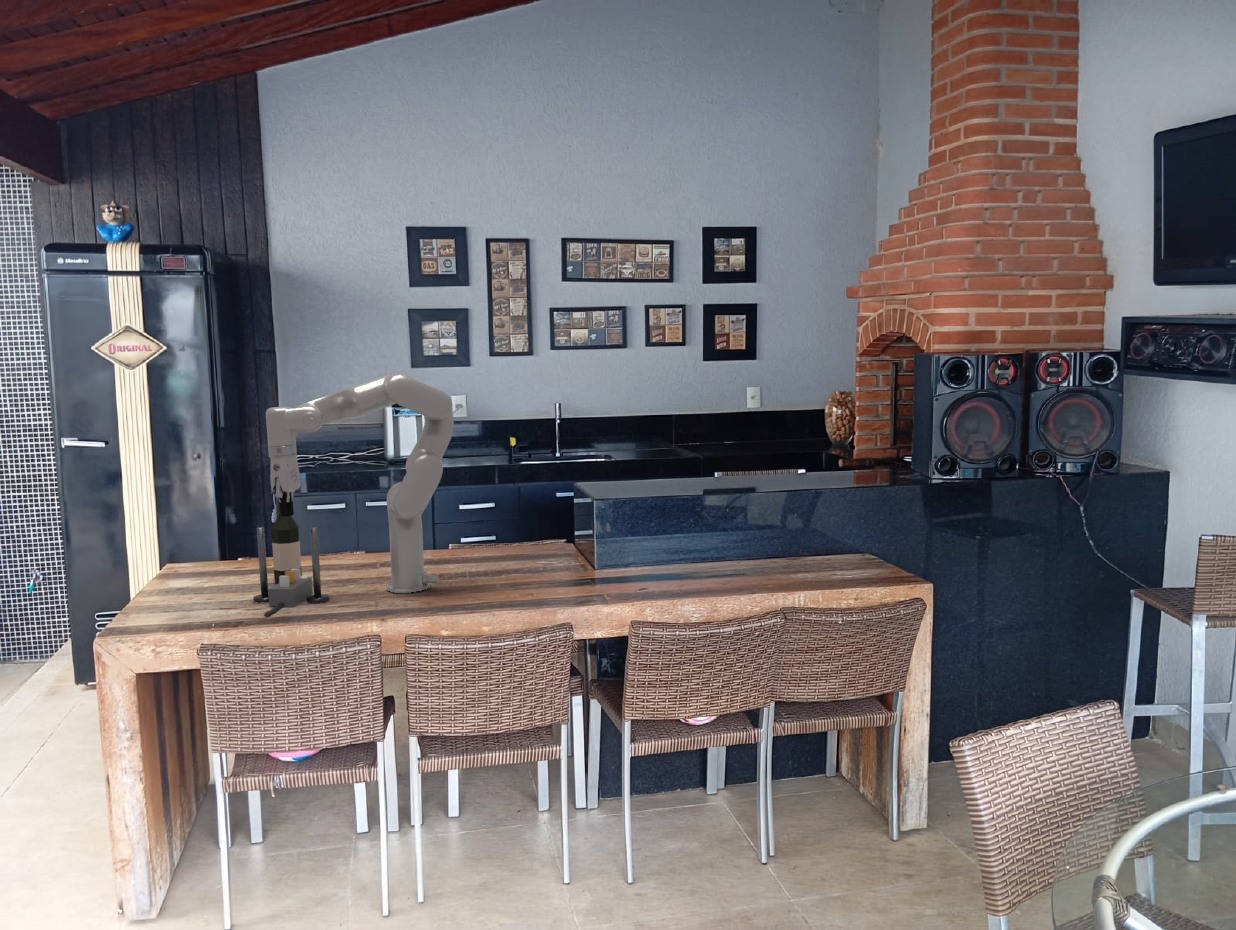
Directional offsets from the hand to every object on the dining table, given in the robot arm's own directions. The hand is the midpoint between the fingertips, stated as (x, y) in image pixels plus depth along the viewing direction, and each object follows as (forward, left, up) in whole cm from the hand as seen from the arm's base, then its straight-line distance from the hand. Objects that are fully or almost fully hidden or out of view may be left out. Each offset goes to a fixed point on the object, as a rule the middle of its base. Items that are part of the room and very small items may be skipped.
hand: (287, 515), depth 304 cm
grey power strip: (0, +5, -25) cm, 25 cm away
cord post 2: (-8, 0, -25) cm, 26 cm away
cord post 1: (+8, 0, -25) cm, 26 cm away
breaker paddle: (0, 0, -19) cm, 19 cm away
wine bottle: (+10, -22, -25) cm, 35 cm away
